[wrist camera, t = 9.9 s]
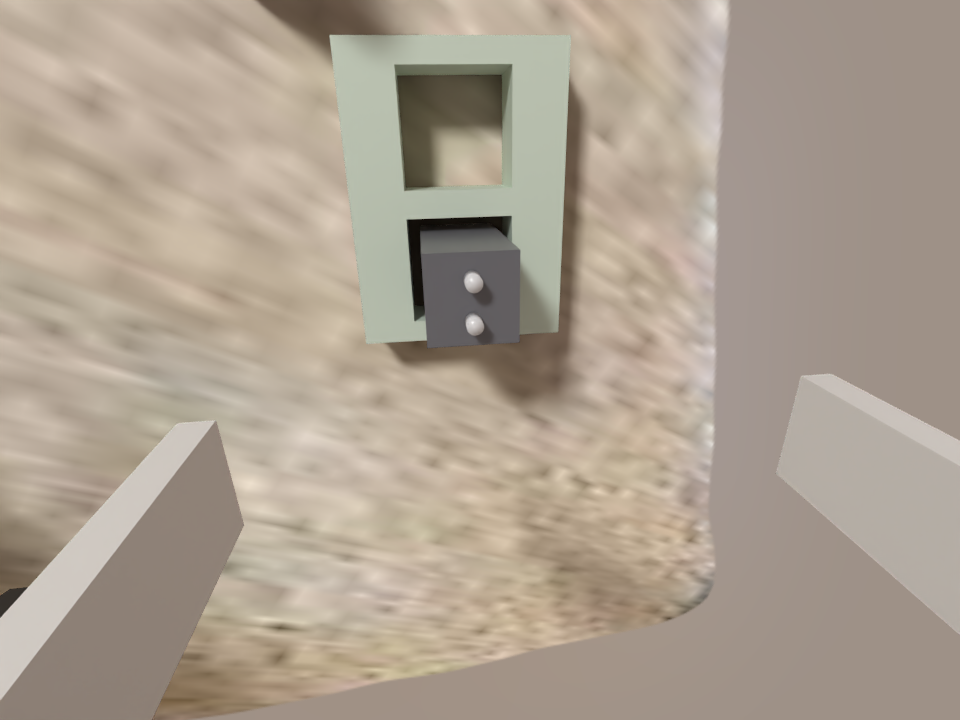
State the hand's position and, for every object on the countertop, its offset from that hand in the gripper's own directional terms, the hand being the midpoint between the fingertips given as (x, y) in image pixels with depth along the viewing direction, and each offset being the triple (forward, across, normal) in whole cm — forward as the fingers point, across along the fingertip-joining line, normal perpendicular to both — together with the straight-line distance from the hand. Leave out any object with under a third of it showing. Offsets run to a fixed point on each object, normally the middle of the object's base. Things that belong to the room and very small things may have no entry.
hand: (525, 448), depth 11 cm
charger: (+23, 0, 0) cm, 23 cm away
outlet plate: (+23, 0, +4) cm, 23 cm away
